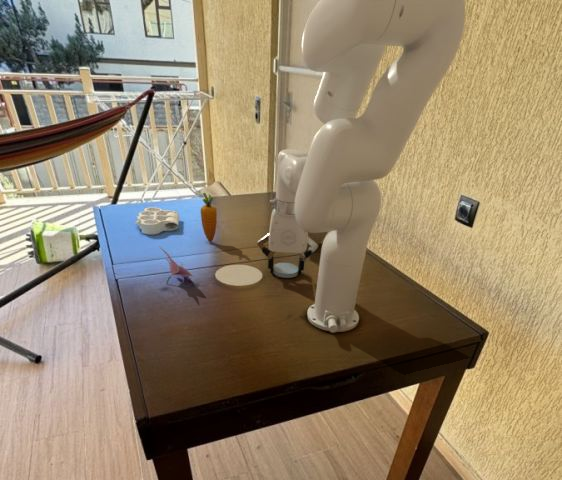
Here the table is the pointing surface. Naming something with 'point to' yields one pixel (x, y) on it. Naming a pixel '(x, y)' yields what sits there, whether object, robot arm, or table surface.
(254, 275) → the dessert plate
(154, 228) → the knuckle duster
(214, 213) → the carrot
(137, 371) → the table surface
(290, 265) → the blue-grey cylinder
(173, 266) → the lily
